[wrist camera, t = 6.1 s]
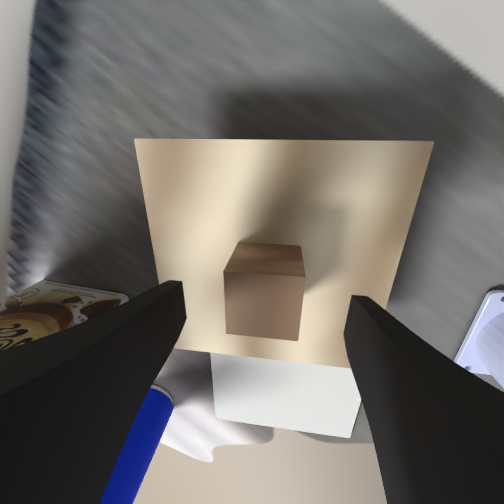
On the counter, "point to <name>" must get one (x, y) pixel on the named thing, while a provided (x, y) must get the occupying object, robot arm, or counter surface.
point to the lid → (278, 236)
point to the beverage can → (139, 447)
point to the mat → (285, 394)
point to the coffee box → (51, 310)
